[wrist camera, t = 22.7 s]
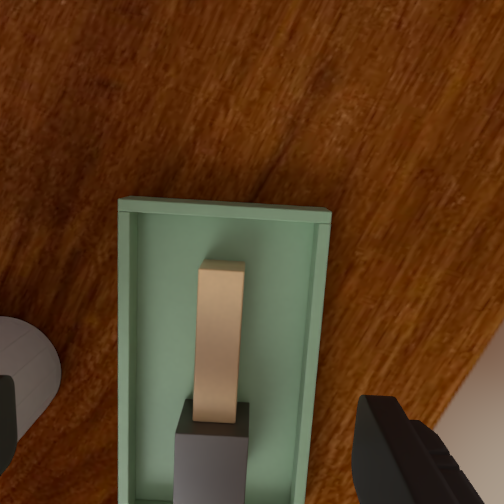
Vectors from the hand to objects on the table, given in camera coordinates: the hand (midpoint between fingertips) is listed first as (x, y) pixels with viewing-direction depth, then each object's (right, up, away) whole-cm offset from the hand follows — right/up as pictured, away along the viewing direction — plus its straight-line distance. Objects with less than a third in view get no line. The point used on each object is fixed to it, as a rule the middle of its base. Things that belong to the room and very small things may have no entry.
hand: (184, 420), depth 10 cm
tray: (0, -2, +14) cm, 14 cm away
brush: (0, -2, +14) cm, 14 cm away
